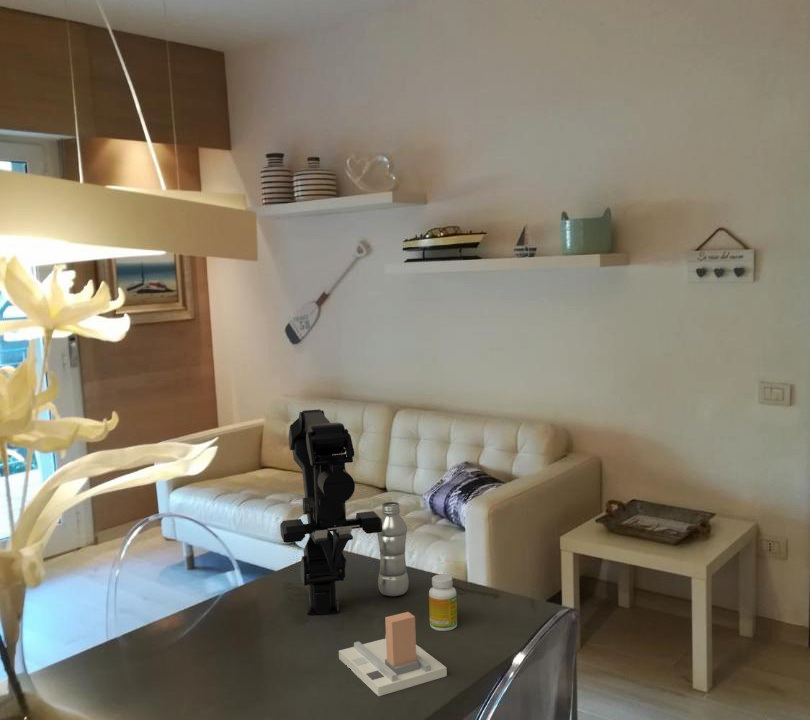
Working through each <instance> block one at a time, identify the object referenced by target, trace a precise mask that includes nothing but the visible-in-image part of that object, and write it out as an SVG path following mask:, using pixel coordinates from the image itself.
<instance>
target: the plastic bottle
mask: <svg viewBox="0 0 810 720" xmlns="http://www.w3.org/2000/svg"><path fill="white" fill-rule="evenodd" d="M381 513H382V515H383V516H382V517H380V518H381V520H382V532H378V533H376V535H377V541H378V546H379V547H378V548H379V553H380V554H379V558H380V559H379V573H378V578H377V585H378V590H379V591H380V593H381V595H384V596H386V597H387V596H388V597H397V596H399V597H400V596H402V595H404V594H406V592H407V591H408V589H409V584H410V583H409V575H408V571H407V565H406V564H407V563H406V541H407V532H408V526H407V523H406V522H405V520H404V518H403V517H402V516H401V515H400V513H401V509H400V503H399V502H398V501H397V502H396V501H387V502H383V503H382V505H381Z"/></svg>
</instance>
